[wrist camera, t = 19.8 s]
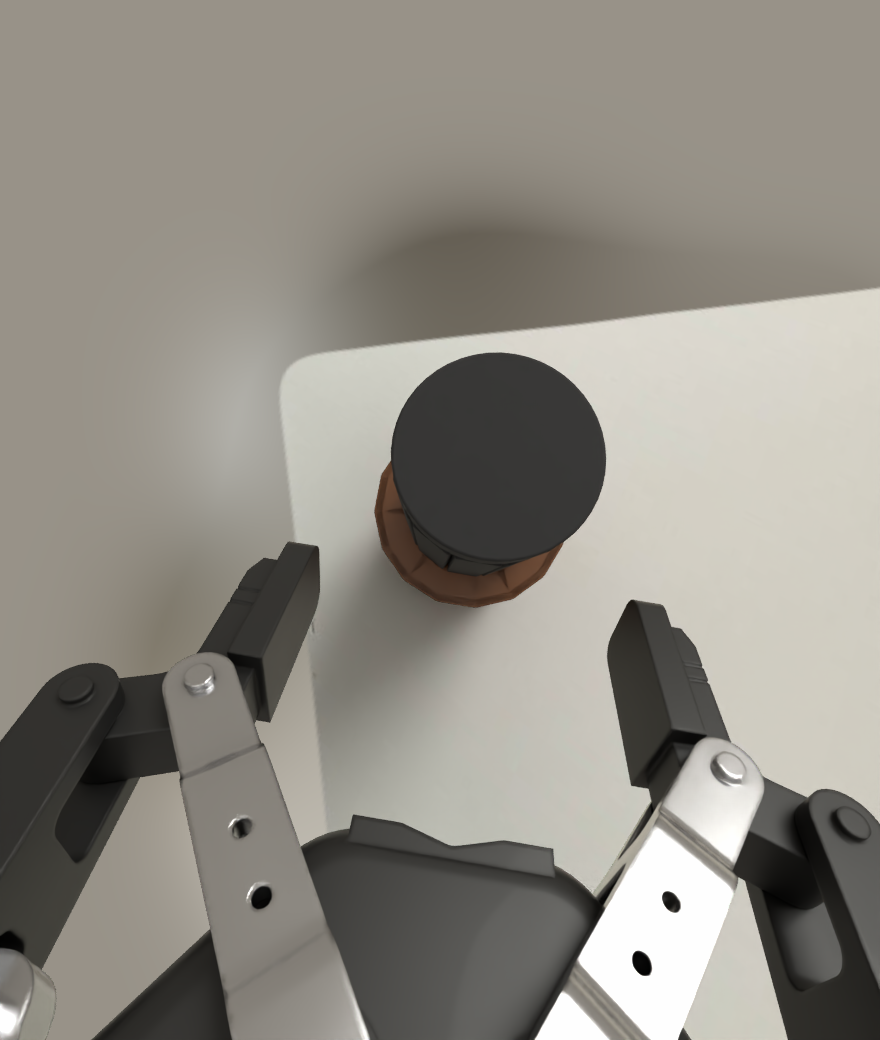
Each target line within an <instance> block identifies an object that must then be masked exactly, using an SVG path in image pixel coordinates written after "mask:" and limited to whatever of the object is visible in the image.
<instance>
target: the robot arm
mask: <svg viewBox="0 0 880 1040" xmlns="http://www.w3.org/2000/svg"><path fill="white" fill-rule="evenodd" d="M319 593H320V566H319V548H318V546H314V545H308V544H302V543H296V542H288V543H287V544H286V545H285V547H284V549H283V551H282V552H281V554H280V556H279V558H278V560H273V559H268V558H263V559H262V560H261V561H259V562H258V563H257V564H255V565H254V566H253V567H251V568H250V569H249V570H248V571H247V572H246V574H245V576H244V577H243V579H242V581H241V582H240V584H239V586H238V589H236V591H235V592H234V594H233V595H232V597H231V600H230V602H228V604H227V606H226V607H225V609H224V610H223V612H222V614H221V615H220V617H219V619H218V620H217V622H216V623H215V625H214V627H213V628H212V630H211V632H210V633H209V635H208V637H207V638H206V640H205V642H204V643H203V645H202V647H201V648H200V650H199V651H198V652H197V654H194V655H191V656H189V657H187V658H184V659H183V660H181V661H179V662H178V663H177V664H175V665H174V666H173V667H172V668H171V669H170V670H169V671H168V672H164V673H160V674H154V675H147V676H146V675H145V676H137V677H128V678H118V676H117V674H116V672H115V671H114V670H113V669H112V668H111V667H109V666H107V665H104V664H99V663H88V664H82V665H77V666H74V667H71V668H69V669H66V670H64V671H62V672H61V673H59V674H57V675H56V676H54V677H53V678H52V679H50V680H49V681H48V682H47V683H46V684H45V685H44V686H43V687H42V689H41V690H40V691H39V692H38V694H37V695H36V696H35V697H34V699H33V700H32V701H31V703H30V704H29V705H28V707H27V708H26V709H25V710H24V712H23V713H22V714H21V716H20V717H19V718H18V719H17V721H16V722H15V724H14V725H13V726H12V727H11V728H10V730H9V731H8V732H7V734H6V735H5V736H4V738H3V739H2V740H1V742H0V1040H46V1038H47V1035H48V1032H49V1029H50V1026H51V1023H52V1021H53V1018H54V1014H55V1009H56V999H57V998H56V989H55V986H54V983H53V981H52V980H51V978H50V977H49V976H48V975H47V974H46V973H45V972H43V971H42V968H43V966H44V964H45V962H46V960H47V958H48V956H49V954H50V952H51V950H52V948H53V946H54V944H55V942H56V940H57V939H58V937H59V935H60V933H61V931H62V929H63V927H64V925H65V923H66V921H67V919H68V917H69V915H70V913H71V911H72V909H73V907H74V905H75V903H76V901H77V899H78V898H79V896H80V893H81V892H82V889H83V888H84V886H85V884H86V882H87V880H88V878H89V876H90V874H91V872H92V870H93V868H94V866H95V864H96V862H97V860H98V858H99V857H100V855H101V852H102V851H103V849H104V846H105V845H106V843H107V841H108V839H109V837H110V835H111V833H112V831H113V829H114V827H115V825H116V823H117V821H118V819H119V817H120V815H121V814H122V812H123V810H124V807H125V806H126V804H127V802H128V800H129V798H130V796H131V794H132V792H133V790H134V788H135V786H136V784H137V782H138V780H139V778H140V777H145V776H151V775H157V774H164V773H170V772H176V771H179V772H180V786H181V792H182V796H183V802H184V806H185V811H186V816H187V820H188V825H189V830H190V835H191V840H192V844H193V849H194V854H195V858H196V863H197V867H198V873H199V877H200V882H201V887H202V891H203V896H204V901H205V906H206V911H207V915H208V919H209V925H210V930H209V931H207V932H206V933H205V934H204V935H203V936H202V937H201V938H200V939H199V940H198V941H197V942H196V943H195V944H194V945H192V947H190V948H189V949H188V950H187V951H186V952H185V953H184V954H183V955H182V956H181V957H180V958H178V959H177V960H176V961H175V962H174V963H173V964H172V965H171V966H170V967H169V968H168V969H167V970H166V971H165V972H164V973H163V974H161V975H160V976H159V977H158V978H157V979H156V980H155V981H154V982H153V983H152V984H151V985H150V986H149V987H148V988H146V989H145V990H144V991H143V992H142V993H141V994H140V995H139V996H138V997H137V998H136V999H135V1000H134V1001H133V1002H131V1003H130V1004H129V1005H128V1006H127V1007H126V1008H125V1009H124V1010H123V1011H122V1012H121V1013H120V1014H119V1015H117V1016H116V1017H115V1018H114V1019H113V1020H112V1021H111V1022H110V1023H109V1024H108V1025H107V1026H106V1027H105V1028H104V1029H102V1031H100V1032H99V1033H98V1034H97V1035H96V1036H95V1037H94V1038H93V1039H92V1040H691V1039H690V1037H689V1036H688V1034H687V1033H686V1031H685V1030H684V1028H683V1024H684V1022H685V1019H686V1016H687V1014H688V1011H689V1009H690V1006H691V1004H692V1001H693V998H694V996H695V993H696V991H697V988H698V986H699V983H700V980H701V978H702V975H703V973H704V970H705V968H706V965H707V962H708V960H709V957H710V955H711V952H712V950H713V947H714V944H715V942H716V939H717V937H718V934H719V932H720V929H721V926H722V924H723V921H724V919H725V916H726V914H727V911H728V908H729V906H730V903H731V901H732V898H733V896H734V893H735V890H736V887H737V884H738V877H739V878H741V879H743V880H745V882H746V886H747V890H748V893H749V897H750V901H751V904H752V908H753V912H754V915H755V919H756V923H757V927H758V930H759V934H760V938H761V941H762V945H763V949H764V952H765V956H766V960H767V964H768V967H769V971H770V975H771V978H772V982H773V986H774V989H775V993H776V997H777V1001H778V1004H779V1008H780V1012H781V1015H782V1019H783V1023H784V1026H785V1030H786V1034H787V1038H788V1040H880V824H879V822H878V821H877V820H876V819H875V818H874V816H873V815H872V814H871V813H870V812H869V811H868V810H867V809H866V808H865V807H863V806H862V805H861V804H860V803H858V802H857V801H855V800H854V799H853V798H851V797H849V796H847V795H845V794H843V793H841V792H838V791H835V790H830V789H821V790H817V791H816V792H814V793H813V794H812V795H810V796H809V797H808V798H807V797H805V796H803V795H800V794H798V793H796V792H794V791H792V790H790V789H787V788H785V787H783V786H781V785H779V784H777V783H775V782H772V781H770V780H769V779H767V778H765V777H763V776H762V774H761V772H760V770H759V768H758V767H757V765H756V764H755V762H754V761H753V760H752V759H751V758H750V757H749V756H748V755H747V754H746V753H745V752H744V751H743V750H742V749H740V748H739V747H738V746H736V745H734V744H733V743H731V741H730V738H729V736H728V733H727V730H726V728H725V725H724V722H723V720H722V717H721V714H720V712H719V709H718V706H717V703H716V701H715V698H714V695H713V693H712V690H711V687H710V685H709V684H708V683H707V681H708V679H707V676H706V674H705V671H704V669H703V668H702V663H701V660H700V658H699V655H698V652H697V649H696V647H695V645H694V644H693V643H692V642H691V640H690V639H689V638H688V637H687V635H686V634H685V633H684V632H683V630H682V629H680V628H674V627H671V625H670V622H669V619H668V616H667V613H666V610H665V608H664V606H663V605H661V604H655V603H649V602H643V601H637V600H630V601H629V602H628V604H627V605H626V608H625V610H624V612H623V614H622V616H621V618H620V620H619V622H618V624H617V626H616V628H615V630H614V632H613V634H612V636H611V638H610V641H609V645H608V651H607V661H608V667H609V672H610V677H611V683H612V688H613V693H614V698H615V704H616V709H617V714H618V719H619V725H620V730H621V735H622V740H623V745H624V751H625V756H626V761H627V766H628V772H629V777H630V782H631V786H636V787H642V788H648V789H649V792H650V797H651V802H650V803H649V804H648V806H647V807H646V809H645V811H644V812H643V814H642V816H641V817H640V819H639V821H638V822H637V824H636V826H635V827H634V829H633V831H632V832H631V834H630V836H629V837H628V839H627V841H626V842H625V844H624V846H623V848H622V849H621V851H620V853H619V854H618V856H617V858H616V859H615V861H614V863H613V864H612V866H611V868H610V869H609V871H608V872H607V874H606V875H605V877H604V878H603V879H602V881H601V882H600V884H599V885H598V887H597V888H596V890H595V891H594V893H593V894H592V893H591V892H590V891H589V890H588V889H587V888H586V887H585V886H584V885H583V884H582V883H580V882H579V881H578V880H577V879H575V878H574V877H573V876H572V875H570V874H568V873H567V872H565V871H564V870H562V869H561V868H559V867H557V866H555V865H554V854H553V849H551V848H545V847H539V846H533V845H528V844H522V843H516V842H510V841H504V840H503V841H495V842H487V843H479V844H470V845H462V846H450V845H447V844H445V843H443V842H441V841H439V840H437V839H434V838H432V837H430V836H428V835H426V834H424V833H422V832H420V831H418V830H416V829H414V828H412V827H409V826H407V825H405V824H403V823H400V822H394V821H388V820H382V819H376V818H371V817H365V816H359V815H353V817H352V821H351V825H350V829H345V830H338V831H335V832H331V833H327V834H325V835H322V836H320V837H317V838H315V839H313V840H312V841H310V842H308V843H306V844H304V845H303V846H301V847H300V844H299V841H298V838H297V835H296V832H295V830H294V827H293V824H292V821H291V818H290V815H289V812H288V810H287V807H286V804H285V801H284V798H283V795H282V792H281V790H280V787H279V784H278V781H277V778H276V775H275V772H274V769H273V766H272V764H271V761H270V758H269V755H268V753H267V750H266V748H265V746H264V744H263V743H261V741H260V739H259V736H258V733H257V730H256V727H255V722H256V720H258V721H265V722H270V721H271V719H272V716H273V714H274V712H275V709H276V707H277V704H278V702H279V699H280V697H281V694H282V692H283V690H284V687H285V684H286V682H287V680H288V677H289V675H290V673H291V670H292V668H293V665H294V663H295V660H296V658H297V655H298V653H299V651H300V648H301V646H302V643H303V641H304V638H305V636H306V633H307V631H308V629H309V626H310V624H311V621H312V619H313V616H314V614H315V611H316V608H317V604H318V600H319Z"/></svg>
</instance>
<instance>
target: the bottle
mask: <svg viewBox="0 0 880 1040" xmlns="http://www.w3.org/2000/svg"><path fill="white" fill-rule="evenodd" d="M374 511H375V512H374V513H375V518H376V523H377V527H378V532H379V537H380V541H381V546H382V549H383V551H384V552H385V554H386V555H387V557H388V558H389V559H390V561H391V562H392V564H393V565H394V567H395V568H396V570H397V571H398V572H399V574H400V575H401V577H402V578H403V580H405V581H406V582H407V583H409V584H411V585H412V586H414V587H415V588H417V589H418V590H420V591H421V592H423V593H425V594H426V595H428V596H429V597H431V598H432V599H434V600H436V601H438V602H444V603H450V604H456V605H461V606H467V607H473V608H475V607H476V608H477V607H481V606H485V605H490V604H494V603H498V602H503V601H507V600H511V599H514V598H515V597H517V596H518V595H519V594H521V593H522V592H523V591H525V590H526V589H528V588H529V587H530V586H532V585H533V584H534V583H536V582H537V581H538V580H540V579H541V578H543V576H544V575H545V574H546V572H547V570H548V569H549V567H550V565H551V564H552V562H553V560H554V559H555V557H556V555H557V554H558V552H559V550H560V549H561V547H562V545H563V543H561V544H560V545H558V546H556V547H555V548H553V549H552V550H551V551H549V552H546V553H544V554H541V555H538V556H536V557H533V558H530V559H528V560H525V561H522V562H520V563H517V564H514V565H512V566H509V567H506V568H504V569H501V570H498V571H496V572H493V573H490V574H488V575H485V576H482V575H479V576H477V577H476V576H470V575H464V574H458V573H453V572H448V571H447V568H448V563H447V565H446V566H445V567H444V568H443V569H441V568H440V567H439V566H438V565H436V564H435V563H434V562H433V561H432V560H430V559H429V558H428V557H427V556H426V555H424V554H423V553H422V552H421V551H420V550H419V547H418V545H416V544H415V542H414V539H413V537H412V534H411V531H410V528H409V526H408V523H407V520H406V517H405V514H404V511H403V508H402V505H401V502H400V499H399V496H398V493H397V490H396V487H395V484H394V481H393V472H392V465H391V461H390V463H389V464H388V466H387V467H386V469H385V470H384V472H383V473H382V475H381V479H380V484H379V489H378V495H377V500H376V505H375V510H374Z"/></svg>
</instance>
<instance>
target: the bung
mask: <svg viewBox="0 0 880 1040" xmlns="http://www.w3.org/2000/svg"><path fill="white" fill-rule="evenodd" d="M391 465H392V472H393V481H394V484H395V487H396V490H397V493H398V496H399V499H400V502H401V505H402V508H403V511H404V514H405V517H406V520H407V523H408V526H409V528H410V531H411V534H412V537H413V539H414V542H415V544H416V545H418V547H419V550H420V551H421V552H422V553H423V554H424V555H426V556H427V557H428V558H429V559H430V560H432V561H433V562H434V563H435V564H436V565H438V566H439V567H440V568H441V569H443V568H444V567H445V566H446V565H447V563H448V568H447V571H448V572H453V573H458V574H464V575H470V576H476V577H477V576H479V575H482V576H485V575H488V574H490V573H493V572H496V571H498V570H501V569H504V568H506V567H509V566H512V565H514V564H517V563H520V562H522V561H525V560H528V559H530V558H533V557H536V556H538V555H541V554H544V553H546V552H549V551H551V550H552V549H553V548H555V547H556V546H558V545H560V544H561V543H563V542H564V541H565V540H567V539H568V538H569V537H570V536H571V535H573V534H574V533H575V532H576V531H577V530H578V529H579V528H580V526H581V525H582V524H583V523H584V522H585V520H586V519H587V518H588V516H589V515H590V513H591V512H592V510H593V508H594V506H595V504H596V502H597V500H598V498H599V495H600V492H601V489H602V486H603V481H604V476H605V468H606V451H605V442H604V438H603V433H602V430H601V427H600V424H599V421H598V418H597V416H596V414H595V412H594V410H593V408H592V406H591V405H590V403H589V402H588V401H587V399H586V398H585V396H584V395H583V394H582V392H581V391H580V390H579V389H578V388H577V387H576V386H575V385H574V384H573V383H572V382H571V381H570V380H569V379H568V378H566V377H565V376H564V375H563V374H561V373H560V372H558V371H557V370H555V369H554V368H552V367H550V366H548V365H546V364H544V363H542V362H540V361H537V360H535V359H532V358H529V357H526V356H521V355H517V354H510V353H483V354H476V355H472V356H468V357H464V358H461V359H459V360H456V361H454V362H451V363H449V364H447V365H445V366H444V367H442V368H440V369H438V370H437V371H435V372H434V373H433V374H431V375H430V376H429V377H427V378H426V379H425V380H424V381H423V382H422V383H421V384H420V385H419V386H418V387H417V388H416V389H415V391H414V392H413V393H412V394H411V396H410V397H409V398H408V400H407V402H406V403H405V405H404V407H403V408H402V410H401V413H400V415H399V417H398V420H397V422H396V426H395V429H394V433H393V438H392V446H391Z"/></svg>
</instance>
